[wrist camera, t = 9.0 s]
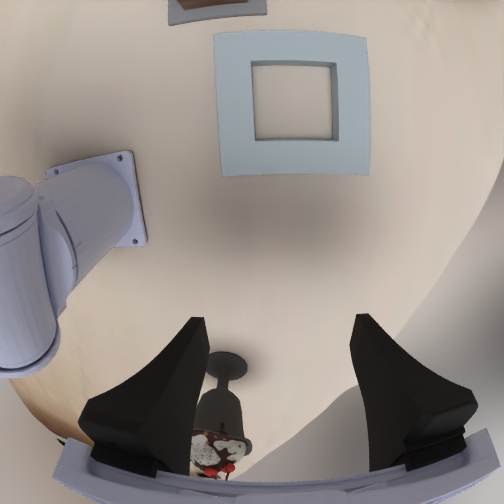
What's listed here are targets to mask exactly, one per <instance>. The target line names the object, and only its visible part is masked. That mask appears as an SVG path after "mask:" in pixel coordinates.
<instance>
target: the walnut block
mask: <svg viewBox="0 0 504 504" xmlns="http://www.w3.org/2000/svg"><path fill="white" fill-rule="evenodd" d="M177 2H178V3H179V4H180V5H181V6H182V8H183V9H184V10H191V9H196V8H202V7H209V6H216V5H225V4H235V3H248V0H177Z"/></svg>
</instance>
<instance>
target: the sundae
mask: <svg viewBox="0 0 504 504" xmlns="http://www.w3.org/2000/svg"><path fill="white" fill-rule="evenodd" d="M247 369H248V367H247V364H246V362H245V361H244V360H243V359H242V358H241V357H239V356H237V355H235V354H232V353H227V352H217V353H213V354H210V355H209V358H208V365H207V369H206V372H207V373H208V374H209V375H211V376H213V377H215V378H218V383H217V388H215V389H211V390H210V391H208V392H206V393H204V394H203V395H202V397H201V399H200V401H199V403H198V405H197V407H196V412H195V419H194V426H193V434H192V443H191V454H190V461H192V462H193V464H194V465H195V466H196V467H197V468H199V469H200V470H202V471H204V473H205V475H207V476H210V477H213V478H214V479H215V480H217V479H216V477H215V476H216V475H217V474H218V472H220V471H222V472H224V473H227V475H226V480H225V481H227V479H228V476H229V473H230V472H233V471H234V470H235V466H234V465H233V464H235V463H237V462H239V461H240V460H241V459H242V458H243V456H246V455H248V454H249V453H250V452H251V451H252V444H251V441H250V440H249V439H246V438H245V437H244V431H243V421H242V410H241V405H240V400H239V399H238V398H237V397H236V396H235V395H234V394H233V393H232V392H230V391H229V390H228V382H229V380H236V379H239V378H241V377H242V376H244V375H245V374H246V372H247Z"/></svg>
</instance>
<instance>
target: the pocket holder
mask: <svg viewBox="0 0 504 504" xmlns="http://www.w3.org/2000/svg"><path fill="white" fill-rule="evenodd" d="M214 53H215V74H216V92H217V109H218V125H219V140H220V154H221V167H222V177H223V176H243V175H271V174H341V175H368V176H369V166H370V134H371V111H370V80H369V64H368V51H367V41H366V38H365V37H359V36H353V35H345V34H337V33H327V32H315V31H296V30H260V31H241V32H228V33H218V34H214ZM262 65H302V66H322V67H330V70H331V90H332V132H333V140H332V139H256V140H255V121H254V101H253V82H252V66H262Z"/></svg>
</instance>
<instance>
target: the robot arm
mask: <svg viewBox="0 0 504 504" xmlns="http://www.w3.org/2000/svg"><path fill="white" fill-rule="evenodd" d="M120 155H122V157H123V160H122V161H121V160H120V158H119V157H120ZM57 170H58V173H57ZM46 178H47V180H46V181H44V182H41V183H39V184H37V185H35V186H33V185H32V184H30V183H29V182H27V181H26V180H25V179H23V178H20V177H15V176H0V378H22V377H27V376H30V375H33V374H35V373H37V372H39V371H40V370H42V369H43V368H44V367H46V366H47V365H48V364H49V363H50V361H51V360H52V359H53V357H54V356H55V354H56V352H57V350H58V348H59V345H60V338H61V332H60V327H59V323H58V320H57V318H58V317H59V316H60V315H61V313H62V312H63V311H64V310H65V308H66V299H67V297H68V295H69V294H70V293H71V292H72V291H73V290H74V289H75V287H76V286H77V285H78V284H79V283H80V282H81V281H82V280H83V278H84V277H85V276H86V275H87V274H88V273H89V272H90V271H91V270H92V269H93V268H94V267H95V265H96V264H97V263H98V262H99V261H100V260H101V259H102V258H103V257H104V256H105V255H106V254H107V253H108V252H109V251H110V250H111V249H112V248H119V247H142V246H144V245H145V244H146V243H147V236H146V231H145V226H144V221H143V216H142V211H141V205H140V199H139V193H138V187H137V180H136V174H135V166H134V159H133V154H132V152H131V151H129V150H126V151H121V152H116V153H111V154H106V155H101V156H96V157H92V158H88V159H83V160H79V161H75V162H71V163H67V164H64V165H60V166H56V167H53V168H49V169H48V170H47V171H46ZM134 239H137V241H138V243H137V242H135V240H134ZM349 345H350V352H351V358H352V363H353V367H354V370H355V373H356V377H357V380H358V383H359V387H360V390H361V394H362V397H363V401H364V406H365V412H366V420H367V428H368V439H369V464H370V466H369V468H370V469H369V471H370V472H369V473H364V474H358V475H353V476H347V477H339V478H331V479H324V480H312V481H298V482H239V481H225V480H215V479H206V478H198V477H191V476H189V471H190V454H191V443H192V434H193V426H194V419H195V412H196V407H197V402H198V398H199V395H200V391H201V388H202V384H203V380H204V377H205V373H206V369H207V365H208V358H209V351H210V345H209V341H208V336H207V331H206V326H205V321H204V317H191V318H190V319H189V320H188V321H187V323H186V324H185V325H184V326H183V328H182V329H181V330H180V331H179V332H178V334H177V335H176V336H175V337H174V338H173V339H172V340H171V342H170V343H169V344H168V345H167V346H166V347H165V348H164V349H163V350H162V351H161V352H160V353H159V354H158V355H157V356H156V357H155V358H154V359H153V360H152V361H151V362H150V363H149V364H148V365H146V366H145V367H144V368H143V369H142V370H140V371H139V372H138V373H136V374H135V375H133V376H132V377H130V378H129V379H128V380H126V381H125V382H123V383H121V384H120V385H118V386H116V387H114V388H112V389H111V390H109V391H107V392H105V393H102V394H100V395H98V396H96V397H93V398H91V399H89V400H88V401H87V403H86V405H85V407H84V409H83V411H82V413H81V416H80V418H79V420H78V424H79V426H80V428H81V429H82V430H83V431H84V432H85V433H86V434H87V435H88V436H89V437H90V438H91V439H92V440H93V441H94V442H95V444H94V447H93V448H92V447H91V446H89V445H87V444H85V443H82V442H80V441H77V440H74V439H72V438H68V439H67V442H66V444H65V446H64V449H63V451H62V453H61V456H60V458H59V460H58V463H57V465H56V468H55V470H54V473H53V475H52V477H53V479H55V480H57V481H58V482H60V483H61V484H63V485H64V486H66V487H68V488H69V489H71V490H73V491H75V492H76V493H78V494H81V495H82V496H84V497H87V498H89V499H91V500H93V501H96V502H98V503H100V504H437V503H439V502H441V501H444V500H446V499H448V498H450V497H452V496H455V495H456V494H459V493H461V492H462V491H465V490H467V489H468V488H471V487H472V486H474V485H475V484H477V483H479V482H480V481H482V480H483V479H485V478H486V477H488V476H489V475H491V474H492V473H494V472H495V471H496V470H498V469H499V468H500V467H501V466H500V463H499V460H498V457H497V454H496V451H495V448H494V446H493V443H492V440H491V438H490V435H489V433H488V430H487V429H486V428H485V429H483V430H481V431H478V432H477V433H474V434H472V435H470V436H468V437H467V438H465V439H464V437H463V434H464V433H465V428H464V425H465V424H466V423H467V421H468V420H469V419H470V418H471V417H472V416H473V415H474V413H475V412H476V410H477V408H478V403H477V401H476V399H475V397H474V395H473V393H472V391H471V390H470V389H467V388H465V387H462V386H460V385H457V384H455V383H453V382H451V381H449V380H447V379H445V378H443V377H441V376H439V375H437V374H436V373H434V372H433V371H431V370H429V369H428V368H427V367H425V366H423V365H422V364H421V363H420V362H418V361H417V360H416V359H414V358H413V357H412V356H411V355H409V354H408V353H407V352H406V351H405V350H404V349H403V348H401V347H400V346H399V345H398V344H397V343H396V342H395V341H394V340H393V339H392V338H391V337H390V336H389V335H388V334H387V333H386V332H385V331H384V330H383V329H382V328H381V327H380V325H379V324H378V323H377V322H376V321H375V320H374V319H373V318H372V317H371V316H370V315H369V314H368V313H367V314H356V318H355V323H354V327H353V332H352V336H351V340H350V344H349ZM350 492H351V493H350ZM215 496H217V497H215Z"/></svg>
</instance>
